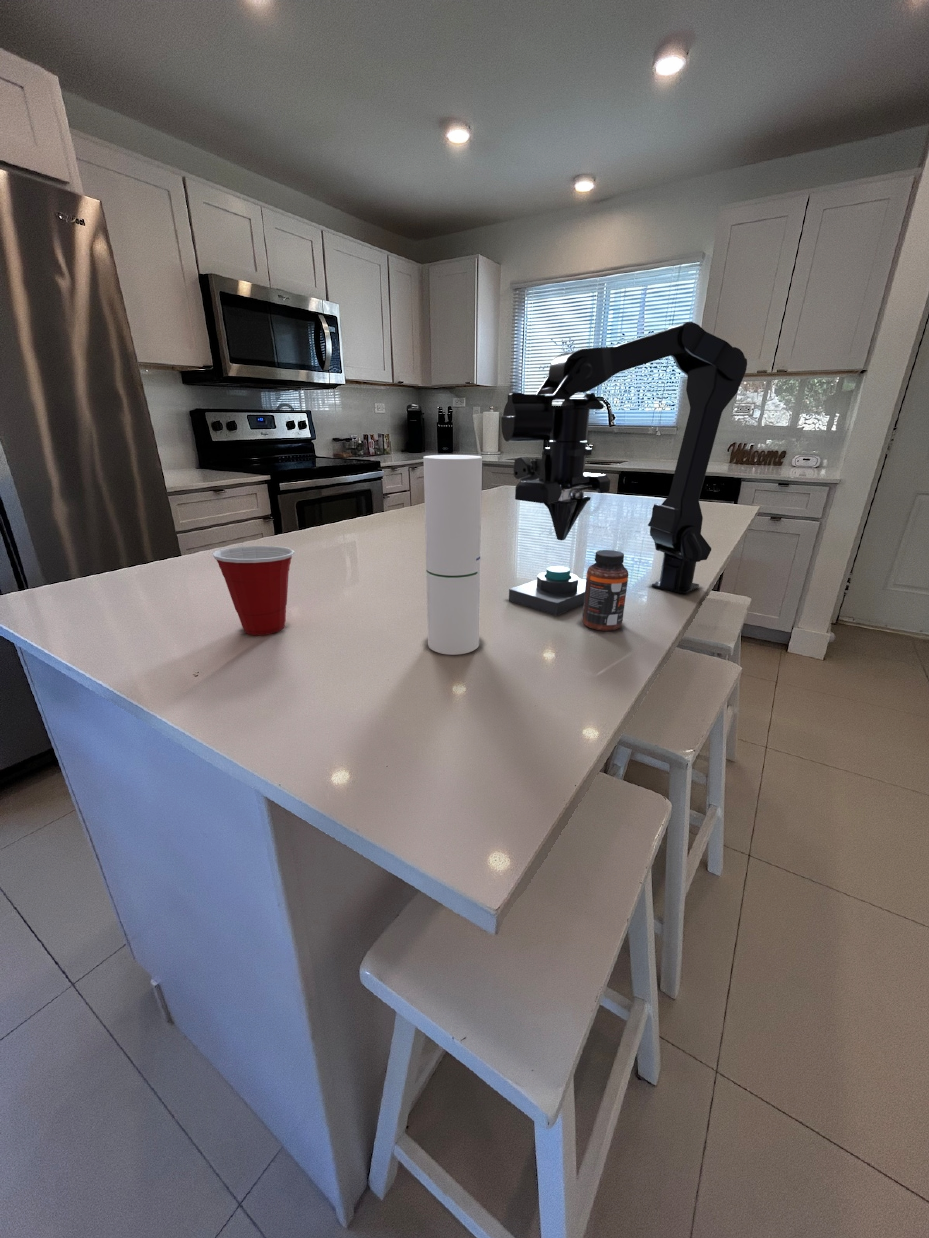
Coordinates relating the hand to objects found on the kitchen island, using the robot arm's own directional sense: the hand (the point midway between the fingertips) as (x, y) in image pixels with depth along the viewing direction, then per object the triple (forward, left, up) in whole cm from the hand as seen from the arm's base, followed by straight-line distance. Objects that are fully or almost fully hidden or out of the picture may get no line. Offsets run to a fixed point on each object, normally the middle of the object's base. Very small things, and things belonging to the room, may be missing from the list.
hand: (560, 539), depth 85 cm
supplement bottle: (+5, +12, -11) cm, 17 cm away
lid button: (0, 0, -7) cm, 7 cm away
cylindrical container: (+26, +1, -11) cm, 28 cm away
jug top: (0, 0, -10) cm, 10 cm away
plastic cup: (+42, -23, -11) cm, 49 cm away
